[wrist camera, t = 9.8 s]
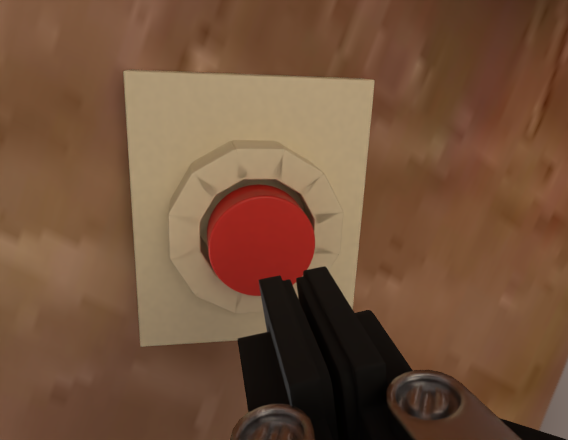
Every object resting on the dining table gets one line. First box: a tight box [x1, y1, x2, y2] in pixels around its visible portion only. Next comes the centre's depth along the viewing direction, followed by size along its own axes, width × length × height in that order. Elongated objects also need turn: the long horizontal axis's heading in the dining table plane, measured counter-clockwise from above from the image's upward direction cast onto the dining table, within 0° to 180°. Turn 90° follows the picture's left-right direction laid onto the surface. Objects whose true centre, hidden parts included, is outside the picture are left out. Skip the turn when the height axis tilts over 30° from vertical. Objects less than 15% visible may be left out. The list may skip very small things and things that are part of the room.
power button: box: [207, 184, 315, 296], centre depth 18 cm, size 4×4×2 cm
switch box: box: [123, 70, 375, 347], centre depth 21 cm, size 12×10×4 cm
